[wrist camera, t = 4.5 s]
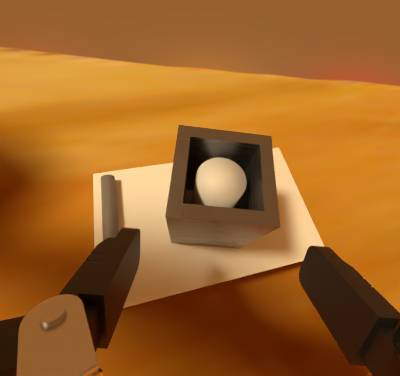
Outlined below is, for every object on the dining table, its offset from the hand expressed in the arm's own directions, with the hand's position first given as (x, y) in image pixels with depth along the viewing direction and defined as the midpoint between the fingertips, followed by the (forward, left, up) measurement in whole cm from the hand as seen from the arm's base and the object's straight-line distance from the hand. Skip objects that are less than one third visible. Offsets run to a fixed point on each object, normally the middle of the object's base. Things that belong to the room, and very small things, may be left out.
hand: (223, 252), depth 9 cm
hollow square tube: (+1, +4, -8) cm, 9 cm away
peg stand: (+1, +4, -11) cm, 12 cm away
